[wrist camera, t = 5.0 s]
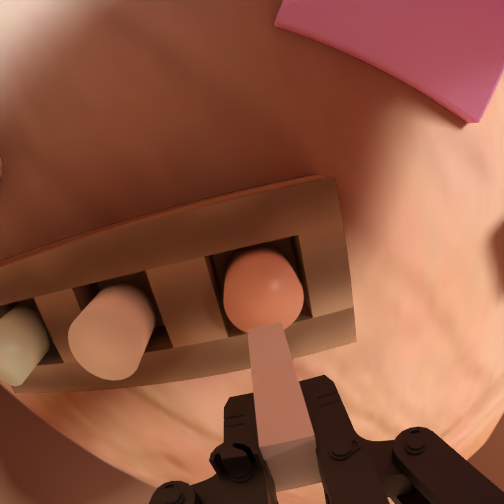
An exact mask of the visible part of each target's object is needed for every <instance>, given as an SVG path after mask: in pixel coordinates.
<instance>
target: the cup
mask: <svg viewBox="0 0 504 504" xmlns="http://www.w3.org/2000/svg"><path fill="white" fill-rule="evenodd" d="M1 174H2V161H1V157H0V179H1Z"/></svg>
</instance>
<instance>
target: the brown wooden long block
mask: <svg viewBox="0 0 504 504" xmlns="http://www.w3.org/2000/svg"><path fill="white" fill-rule="evenodd" d="M264 242H268V243H271V244H273V245H275V246H276V247H278V248H279V249H280V250H281V251H282V252H283V253H284V254H285V256H286V257H287V259H288V261H289V263H290V265H291V267H292V268H293V270H294V272H295V274H296V276H297V278H298V279H299V281H300V283H301V286H302V289H303V294H304V301H303V306H302V309H301V312H300V314H299V316H298V317H297V319H296V320H295V321H294V322H293V323H292V324H291V325H290V326H289V327H287V328H286V329H284V333H285V336H286V340H287V343H288V346H289V350H290V353H291V356H292V359H294V358H298V357H302V356H306V355H310V354H314V353H317V352H321V351H325V350H328V349H332V348H336V347H339V346H343V345H346V344H350V343H353V342H356V329H355V317H354V307H353V297H352V287H351V278H350V270H349V262H348V254H347V247H346V240H345V233H344V226H343V220H342V213H341V207H340V201H339V195H338V190H337V184H336V179H335V178H333V177H327V176H322V175H317V174H314V175H309V176H304V177H299V178H295V179H290V180H285V181H280V182H276V183H271V184H266V185H262V186H257V187H253V188H249V189H244V190H240V191H236V192H231V193H227V194H223V195H219V196H215V197H211V198H207V199H203V200H199V201H195V202H191V203H187V204H183V205H179V206H176V207H172V208H168V209H164V210H161V211H157V212H153V213H150V214H146V215H143V216H139V217H136V218H132V219H129V220H125V221H122V222H118V223H115V224H111V225H108V226H105V227H102V228H98V229H95V230H92V231H89V232H85V233H82V234H79V235H76V236H73V237H70V238H66V239H63V240H60V241H57V242H54V243H51V244H48V245H45V246H42V247H39V248H37V249H34V250H31V251H28V252H25V253H22V254H19V255H17V256H14V257H11V258H8V259H6V260H3V261H0V319H1V318H2V317H3V316H4V315H5V314H7V313H8V312H9V311H10V310H12V309H13V308H14V307H15V306H17V305H27V306H30V307H32V308H33V309H35V310H36V311H37V312H38V313H39V314H41V316H42V318H43V320H44V323H45V325H46V327H47V329H48V331H49V333H50V336H51V338H52V345H51V348H50V350H49V351H48V352H47V353H46V354H45V356H44V357H43V358H42V359H41V361H40V362H39V363H38V364H37V366H36V367H35V368H34V369H33V371H32V372H31V373H30V374H29V376H28V377H27V378H26V379H25V381H24V382H23V383H22V384H21V385H19V386H11V387H12V388H13V390H14V392H15V393H48V392H74V391H91V390H104V389H116V388H126V387H136V386H145V385H153V384H161V383H168V382H175V381H182V380H189V379H195V378H201V377H207V376H213V375H219V374H224V373H229V372H235V371H240V370H245V369H249V368H251V363H250V353H249V343H248V333H246V332H244V331H242V330H240V329H238V328H237V327H236V326H235V325H234V324H233V323H232V322H231V321H230V319H229V318H228V316H227V314H226V312H225V308H224V283H225V268H226V264H227V261H228V259H229V257H230V256H231V254H232V253H233V252H234V251H235V250H236V249H239V248H243V247H247V246H251V245H256V244H260V243H264ZM115 282H126V283H130V284H133V285H135V286H137V287H139V288H140V289H142V290H143V291H144V292H145V293H146V294H147V295H148V296H149V297H150V299H151V300H152V302H153V304H154V306H155V309H156V316H157V319H156V324H155V327H154V329H153V332H152V334H151V336H150V339H149V341H148V344H147V346H146V348H145V351H144V353H143V356H142V358H141V361H140V363H139V365H138V368H137V370H136V371H135V372H134V373H133V374H132V375H131V376H130V377H128V378H125V379H122V380H106V379H103V378H100V377H97V376H95V375H93V374H91V373H90V372H88V371H87V370H86V369H84V368H83V367H82V366H81V365H80V364H79V363H78V361H77V360H76V359H75V357H74V356H73V354H72V352H71V350H70V347H69V342H68V332H69V328H70V326H71V324H72V323H73V321H74V320H75V319H76V318H77V317H78V316H79V314H80V313H81V312H82V311H83V310H84V309H85V308H86V306H87V305H88V304H89V303H90V302H91V301H92V300H93V299H94V298H95V296H96V295H97V294H98V293H99V292H100V291H101V290H102V289H103V288H104V287H105V286H107V285H109V284H111V283H115Z"/></svg>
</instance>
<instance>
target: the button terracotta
mask: <svg viewBox="0 0 504 504" xmlns="http://www.w3.org/2000/svg"><path fill="white" fill-rule="evenodd" d="M303 301H304V294H303V289H302V286H301V283H300V281H299V279H298V278H297V276H296V274H295V272H294V270H293V268H292V267H291V265H290V263H289V261H288V259H287V257H286V256H285V254H284V253H283V252H282V251H281V250H280V249H279V248H278V247H276V246H275V245H273V244H271V243H268V242H264V243H260V244H256V245H251V246H247V247H243V248H239V249H236V250H235V251H234V252H233V253H232V254H231V256H230V257H229V259H228V261H227V264H226V268H225V283H224V308H225V312H226V314H227V316H228V318H229V319H230V321H231V322H232V323H233V324H234V325H235V326H236V327H237V328H238V329H240V330H242V331H244V332H246V333H247V330H248V329H252V328H257V327H261V326H265V325H270V324H274V323H278V322H281V323H282V326H283V330H284V329H286V328H287V327H289V326H290V325H291V324H292V323H293V322H294V321H295V320H296V319H297V317H298V316H299V314H300V312H301V309H302V306H303Z"/></svg>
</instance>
